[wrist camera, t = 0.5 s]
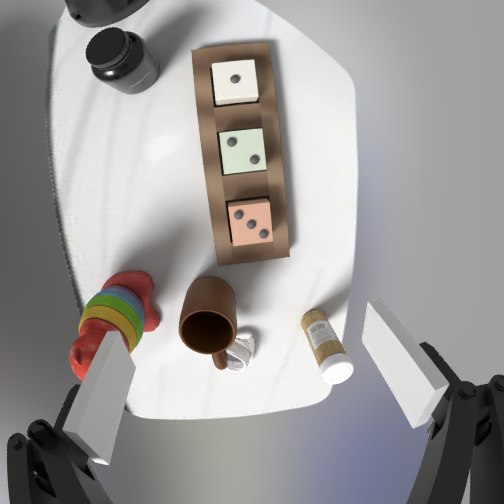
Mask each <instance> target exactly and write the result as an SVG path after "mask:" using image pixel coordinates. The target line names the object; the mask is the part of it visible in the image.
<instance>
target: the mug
mask: <svg viewBox="0 0 504 504" xmlns="http://www.w3.org/2000/svg"><path fill="white" fill-rule="evenodd" d="M236 332H237V317H236V304H235V296H234V292H233V290H232V288H231V287H230V286H229V285H228V284H227V283H226V282H225V281H223V280H221V279H219V278H216V277H203V278H200V279H198V280H196V281H195V282H193V283H192V284H191V286H190V287H189V288H188V290H187V293H186V296H185V300H184V303H183V307H182V311H181V315H180V321H179V335H180V337H181V339H182V341H183V343H184V344H185V345H186V346H187V347H188V348H190V349H191V350H193V351H195V352H198V353H202V354H212V358H213V361H214V364H215V366H216V367H217V368H218V369H220V370H223V369H225V368H226V367H227V365H228V358H227V351H226V349H228V348H229V347H230V346H231V345H232V344H233V342H234V341H235V338H236Z"/></svg>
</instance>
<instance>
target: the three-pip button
mask: <svg viewBox="0 0 504 504" xmlns="http://www.w3.org/2000/svg"><path fill="white" fill-rule="evenodd" d="M228 208H229V216H230V224H231V231H232V239H233V246H239V245H247V244H255V243H263V242H271V241H273V234H272V223H271V212H270V202H269V201H268V200H267V198H263V199H255V200H246V201H238V202H230V203H228Z"/></svg>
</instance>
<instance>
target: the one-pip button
mask: <svg viewBox="0 0 504 504" xmlns="http://www.w3.org/2000/svg"><path fill="white" fill-rule="evenodd" d="M212 71H213V80H214V90H215V99H216V104H217V105H222V104H230V103H240V102H251V101H256V100H257V98H258V97H259V96H258V88H257V79H256V71H255V63H254V60H242V61H231V62H221V63H213V64H212Z"/></svg>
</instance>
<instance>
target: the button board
mask: <svg viewBox="0 0 504 504" xmlns="http://www.w3.org/2000/svg"><path fill="white" fill-rule="evenodd" d="M191 52H192V63H193V75H194V85H195V95H196V105H197V114H198V123H199V132H200V140H201V149H202V157H203V165H204V172H205V180H206V187H207V194H208V201H209V208H210V215H211V222H212V229H213V235H214V242H215V248H216V254H217V260H218V266H223V265H231V264H239V263H246V262H254V261H262V260H269V259H277V258H284V257H290V253H289V237H288V222H287V209H286V196H285V184H284V172H283V161H282V151H281V141H280V131H279V122H278V113H277V104H276V96H275V88H274V80H273V72H272V65H271V57H270V50H269V43H249V44H235V45H225V46H216V47H208V48H201V49H195V50H191ZM242 60H254V63H255V71H256V79H257V88H258V96H259V97H258V98H257V100H258V103H256V104H244V105H234V106H225V107H217V108H214V102H213V92H212V83H211V73H210V72H211V71H212V64H213V63H221V62H231V61H242ZM257 128H262V131H263V141H264V150H265V160H266V170H261V171H251V172H243V173H234V174H226V175H222V171H221V162H220V154H219V146H218V137H217V133H221V132H229V131H237V130H247V129H257ZM259 196H268V201H269V202H270V212H271V223H272V234H273V241H271V242H263V243H255V244H247V245H239V246H233V239H232V238H230V232H229V225H228V217H227V210H226V202H225V201H226V200H234V199H242V198H250V197H259Z"/></svg>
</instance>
